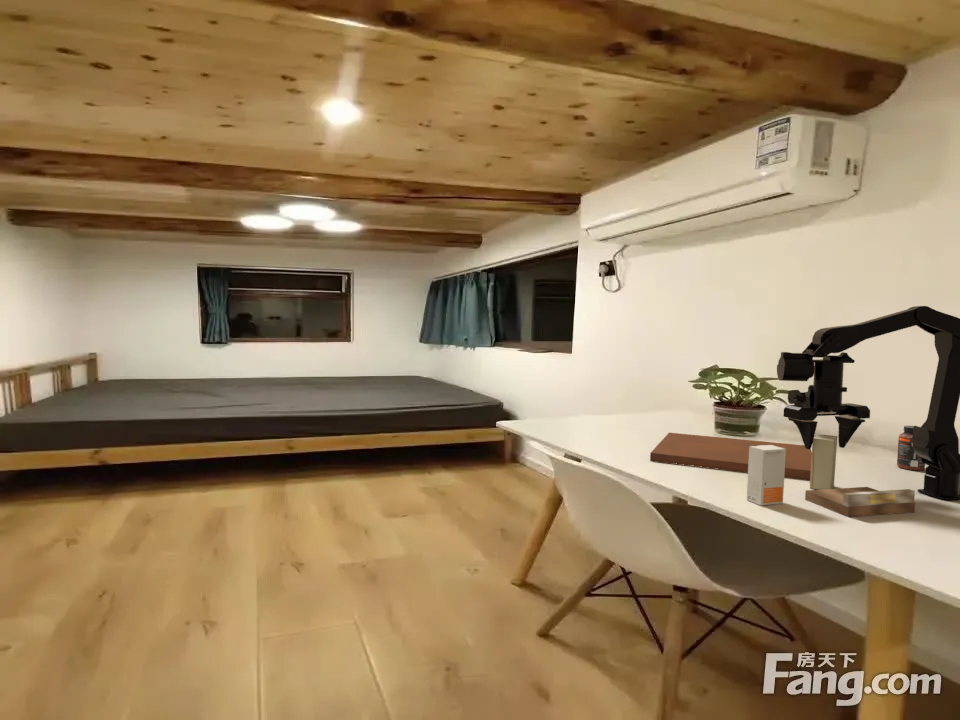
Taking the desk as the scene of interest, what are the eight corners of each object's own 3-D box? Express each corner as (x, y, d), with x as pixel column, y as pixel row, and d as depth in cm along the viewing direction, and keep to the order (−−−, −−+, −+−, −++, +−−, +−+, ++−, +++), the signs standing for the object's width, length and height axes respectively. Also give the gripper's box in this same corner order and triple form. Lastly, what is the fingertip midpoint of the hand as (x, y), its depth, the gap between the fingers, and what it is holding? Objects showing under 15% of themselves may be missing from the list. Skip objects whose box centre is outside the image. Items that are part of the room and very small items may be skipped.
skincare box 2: (813, 482, 132) (815, 433, 131) (835, 486, 129) (837, 435, 128) (809, 488, 127) (811, 437, 126) (831, 492, 124) (834, 440, 123)
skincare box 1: (761, 506, 114) (763, 450, 113) (745, 500, 118) (748, 445, 117) (784, 504, 116) (786, 448, 115) (768, 497, 120) (770, 444, 119)
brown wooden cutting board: (818, 484, 133) (809, 455, 162) (819, 471, 133) (809, 445, 162) (650, 463, 152) (668, 441, 181) (650, 452, 151) (668, 432, 180)
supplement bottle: (921, 472, 142) (924, 429, 141) (893, 467, 146) (896, 426, 146) (927, 468, 146) (930, 427, 145) (900, 464, 150) (902, 423, 149)
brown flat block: (866, 495, 122) (867, 476, 122) (915, 512, 111) (916, 491, 111) (805, 499, 119) (806, 479, 119) (848, 517, 108) (849, 495, 108)
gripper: (833, 378, 136) (830, 439, 137) (768, 379, 132) (765, 442, 133) (873, 382, 125) (870, 449, 126) (803, 384, 121) (800, 452, 122)
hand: (824, 448), depth 127 cm, fingers open, 9 cm apart
